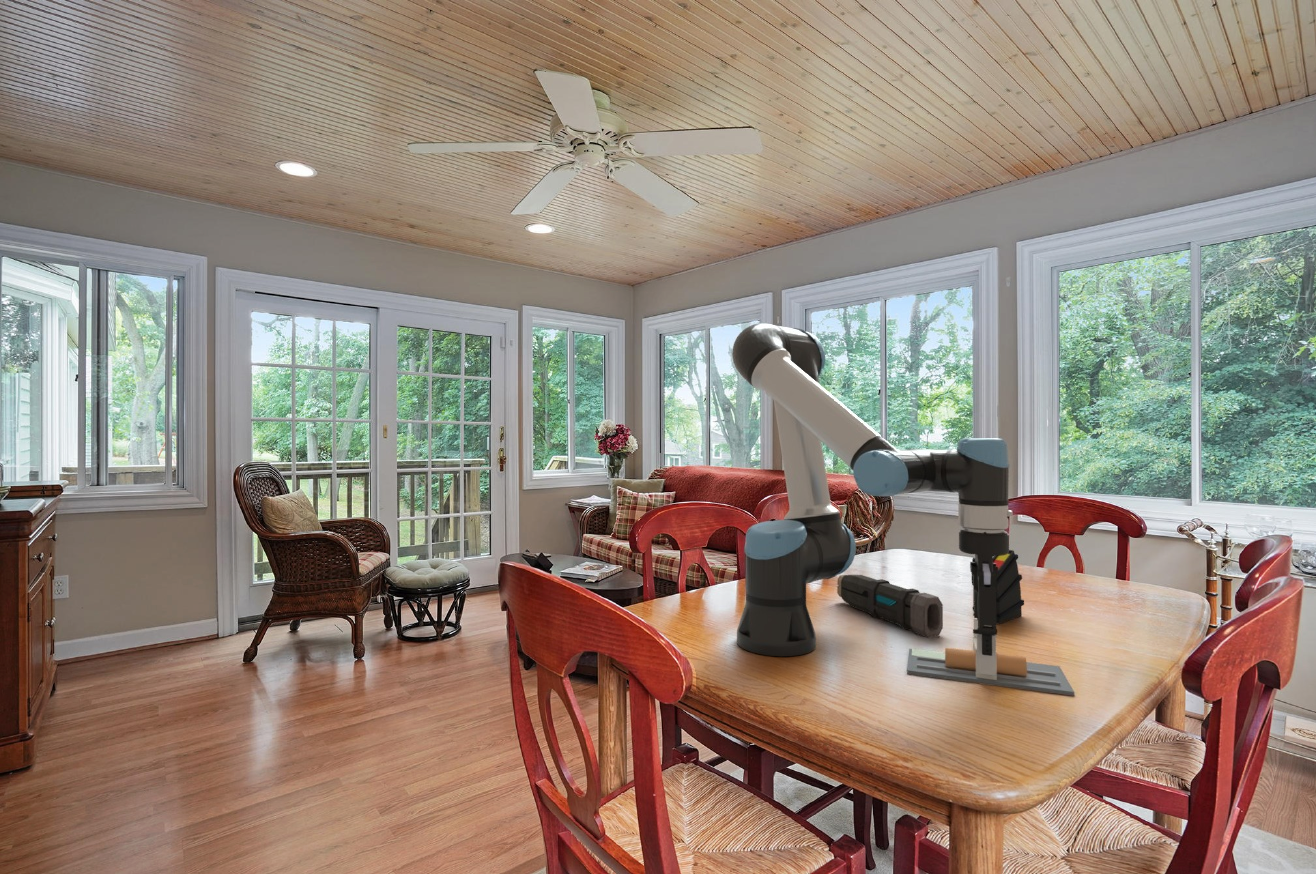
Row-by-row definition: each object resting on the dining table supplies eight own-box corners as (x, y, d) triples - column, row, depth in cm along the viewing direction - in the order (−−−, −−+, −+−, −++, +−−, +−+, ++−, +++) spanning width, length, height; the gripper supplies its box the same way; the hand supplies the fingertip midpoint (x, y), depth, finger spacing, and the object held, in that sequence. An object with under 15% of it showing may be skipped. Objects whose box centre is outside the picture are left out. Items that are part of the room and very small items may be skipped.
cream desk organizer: (976, 677, 103) (975, 649, 103) (973, 662, 110) (973, 637, 110) (996, 680, 102) (996, 652, 102) (992, 665, 109) (992, 639, 109)
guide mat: (907, 673, 107) (907, 667, 107) (909, 651, 118) (909, 646, 118) (1074, 695, 97) (1074, 689, 97) (1059, 669, 108) (1059, 663, 108)
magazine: (1030, 606, 142) (1016, 550, 139) (1005, 642, 135) (990, 583, 131) (1012, 603, 145) (999, 547, 142) (987, 637, 138) (972, 580, 134)
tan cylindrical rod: (945, 670, 107) (945, 651, 107) (945, 662, 110) (945, 644, 110) (1026, 680, 102) (1026, 660, 102) (1024, 672, 105) (1024, 653, 105)
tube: (858, 612, 155) (954, 631, 127) (837, 621, 153) (929, 643, 125) (846, 569, 156) (939, 579, 128) (824, 578, 153) (914, 590, 125)
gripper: (1016, 539, 95) (1017, 690, 95) (1002, 523, 114) (1003, 649, 114) (961, 536, 98) (962, 683, 98) (956, 521, 117) (957, 644, 117)
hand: (984, 665), depth 106 cm, fingers closed on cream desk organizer, 7 cm apart
